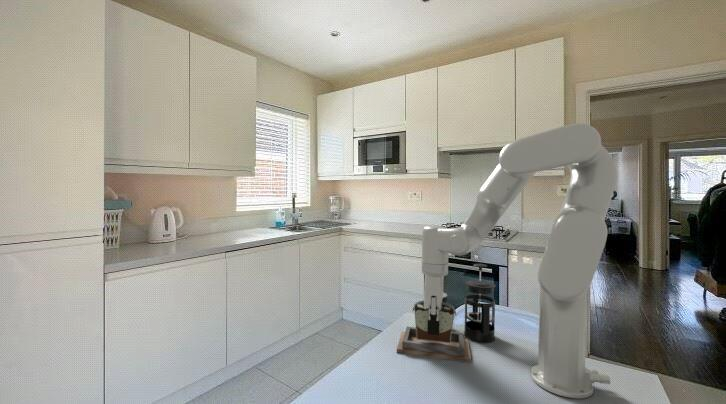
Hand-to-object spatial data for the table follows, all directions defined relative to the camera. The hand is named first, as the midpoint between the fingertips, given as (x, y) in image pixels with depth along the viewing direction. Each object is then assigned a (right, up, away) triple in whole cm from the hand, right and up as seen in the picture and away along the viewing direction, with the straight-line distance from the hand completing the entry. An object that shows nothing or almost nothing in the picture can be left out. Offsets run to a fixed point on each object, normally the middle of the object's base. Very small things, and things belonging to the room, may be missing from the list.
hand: (433, 329), depth 92 cm
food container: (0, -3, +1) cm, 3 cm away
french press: (+16, -6, +7) cm, 19 cm away
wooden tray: (0, -5, 0) cm, 5 cm away
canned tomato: (+4, -5, +16) cm, 17 cm away
